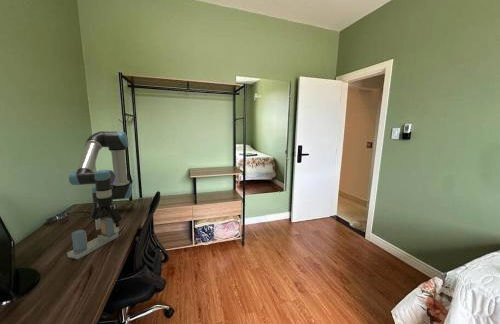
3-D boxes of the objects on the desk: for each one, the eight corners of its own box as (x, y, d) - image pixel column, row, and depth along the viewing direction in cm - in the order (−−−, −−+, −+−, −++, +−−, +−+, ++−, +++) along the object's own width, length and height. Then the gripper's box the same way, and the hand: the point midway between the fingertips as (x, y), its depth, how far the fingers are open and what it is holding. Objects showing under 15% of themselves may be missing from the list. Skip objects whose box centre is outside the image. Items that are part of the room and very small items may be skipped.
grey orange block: (108, 233, 127) (107, 217, 125) (113, 233, 126) (112, 218, 124) (101, 236, 122) (99, 220, 121) (106, 237, 121) (105, 221, 120)
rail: (109, 234, 129) (108, 216, 127) (118, 236, 127) (117, 217, 126) (67, 257, 106) (64, 234, 104) (78, 259, 104) (75, 236, 103)
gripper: (127, 196, 121) (129, 230, 124) (94, 192, 127) (97, 225, 130) (116, 200, 114) (119, 236, 117) (81, 196, 120) (85, 230, 123)
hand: (107, 230), depth 124 cm, fingers open, 13 cm apart
